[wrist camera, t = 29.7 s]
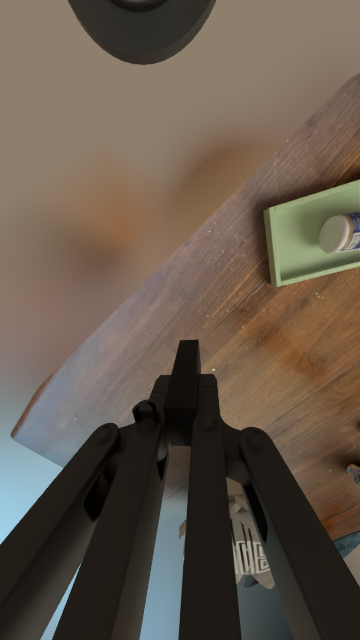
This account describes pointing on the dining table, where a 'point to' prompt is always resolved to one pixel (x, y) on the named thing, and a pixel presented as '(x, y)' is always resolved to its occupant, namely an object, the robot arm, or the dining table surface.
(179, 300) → the dining table surface
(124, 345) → the dining table surface
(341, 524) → the dining table surface
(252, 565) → the decorative bowl
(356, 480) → the figurine
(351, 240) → the pill bottle
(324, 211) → the tray
